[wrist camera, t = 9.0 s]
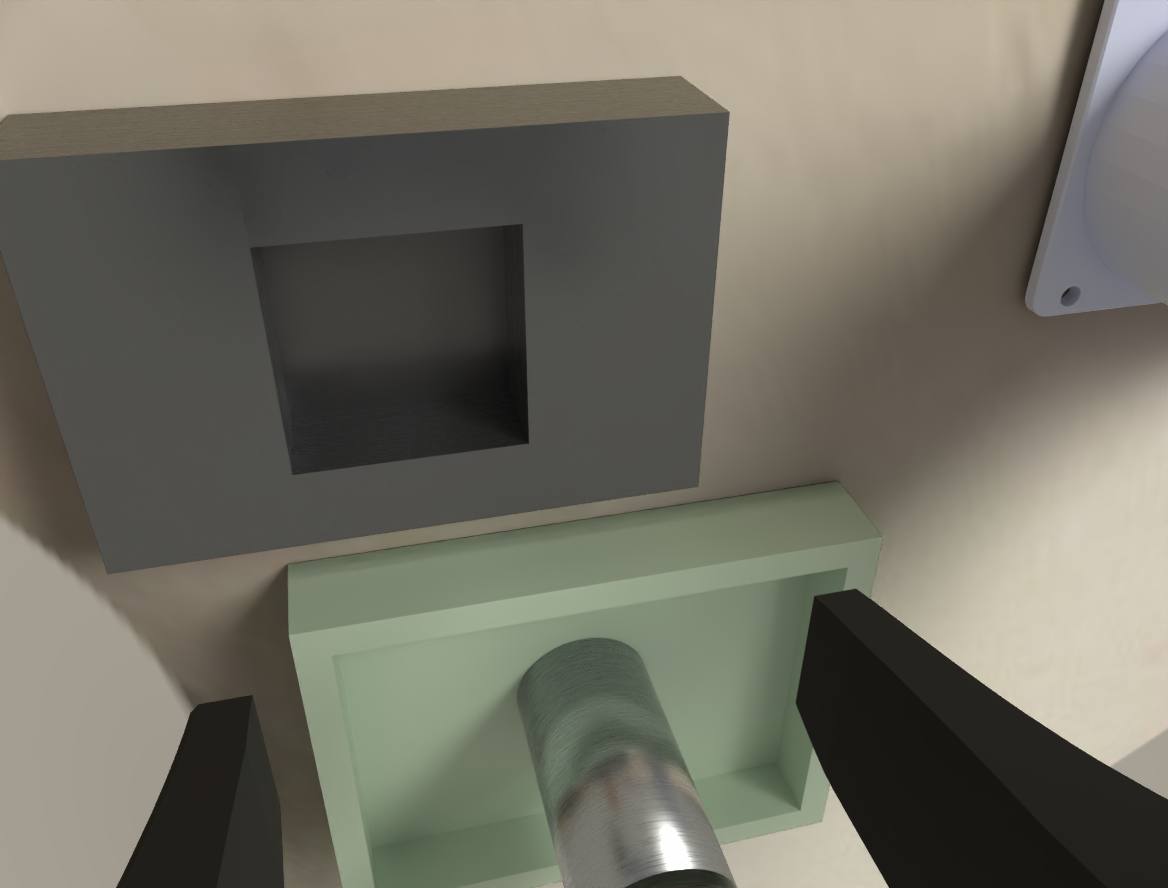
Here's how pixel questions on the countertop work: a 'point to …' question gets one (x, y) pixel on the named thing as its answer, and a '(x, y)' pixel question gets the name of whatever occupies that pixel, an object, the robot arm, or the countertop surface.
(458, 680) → the tray
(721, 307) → the countertop surface
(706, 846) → the pin
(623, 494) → the hitch block
